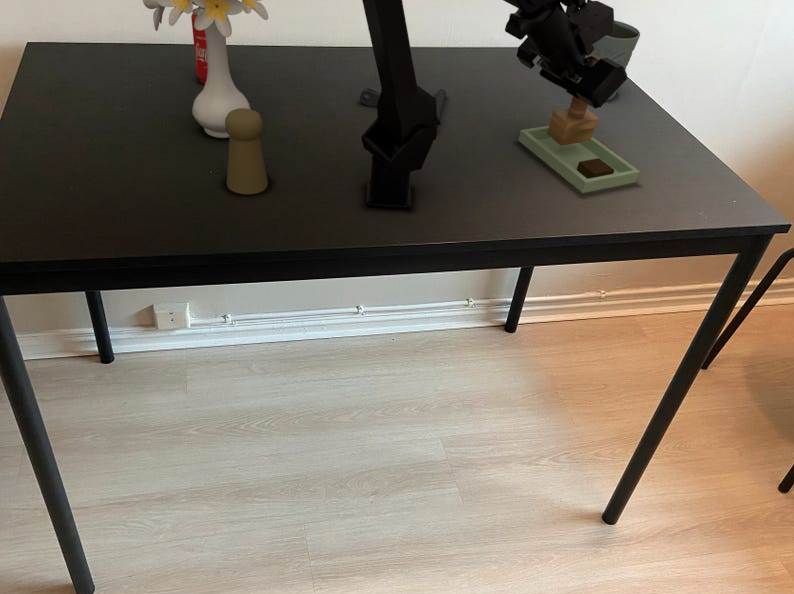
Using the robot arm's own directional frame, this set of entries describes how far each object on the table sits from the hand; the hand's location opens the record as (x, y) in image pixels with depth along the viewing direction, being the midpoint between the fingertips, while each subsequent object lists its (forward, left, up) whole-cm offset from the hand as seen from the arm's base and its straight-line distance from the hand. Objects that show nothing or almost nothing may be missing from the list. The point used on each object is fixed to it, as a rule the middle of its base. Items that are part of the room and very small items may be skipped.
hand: (587, 97), depth 112 cm
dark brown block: (-7, -2, -9) cm, 12 cm away
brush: (0, +1, -7) cm, 7 cm away
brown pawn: (-17, +52, -10) cm, 55 cm away
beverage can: (+19, +64, -10) cm, 67 cm away
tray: (-3, 0, -10) cm, 10 cm away
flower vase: (-1, +59, -10) cm, 60 cm away
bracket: (+13, +29, -10) cm, 33 cm away
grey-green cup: (+27, -9, -10) cm, 30 cm away
